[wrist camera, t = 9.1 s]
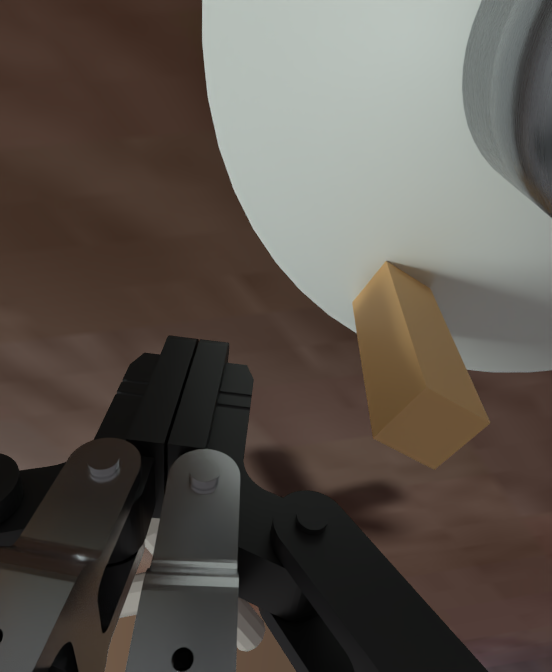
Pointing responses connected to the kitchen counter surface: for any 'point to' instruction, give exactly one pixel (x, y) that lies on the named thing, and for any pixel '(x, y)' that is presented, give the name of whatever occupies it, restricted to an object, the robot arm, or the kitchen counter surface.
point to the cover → (512, 93)
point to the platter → (383, 199)
